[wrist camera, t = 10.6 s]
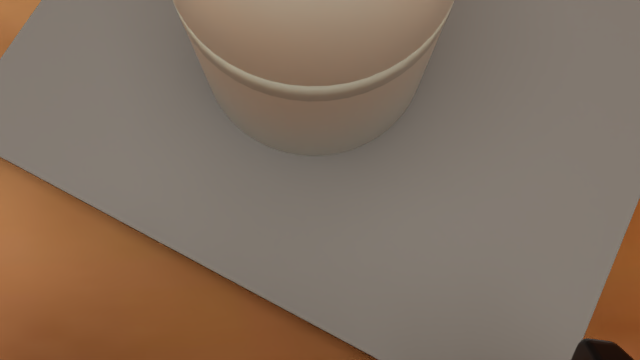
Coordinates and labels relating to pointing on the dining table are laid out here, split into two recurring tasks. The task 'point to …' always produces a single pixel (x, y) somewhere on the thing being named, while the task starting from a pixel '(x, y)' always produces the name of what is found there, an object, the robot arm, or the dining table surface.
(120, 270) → the dining table surface
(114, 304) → the dining table surface
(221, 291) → the dining table surface
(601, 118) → the shelf board
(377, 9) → the tumbler stack
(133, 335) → the dining table surface
